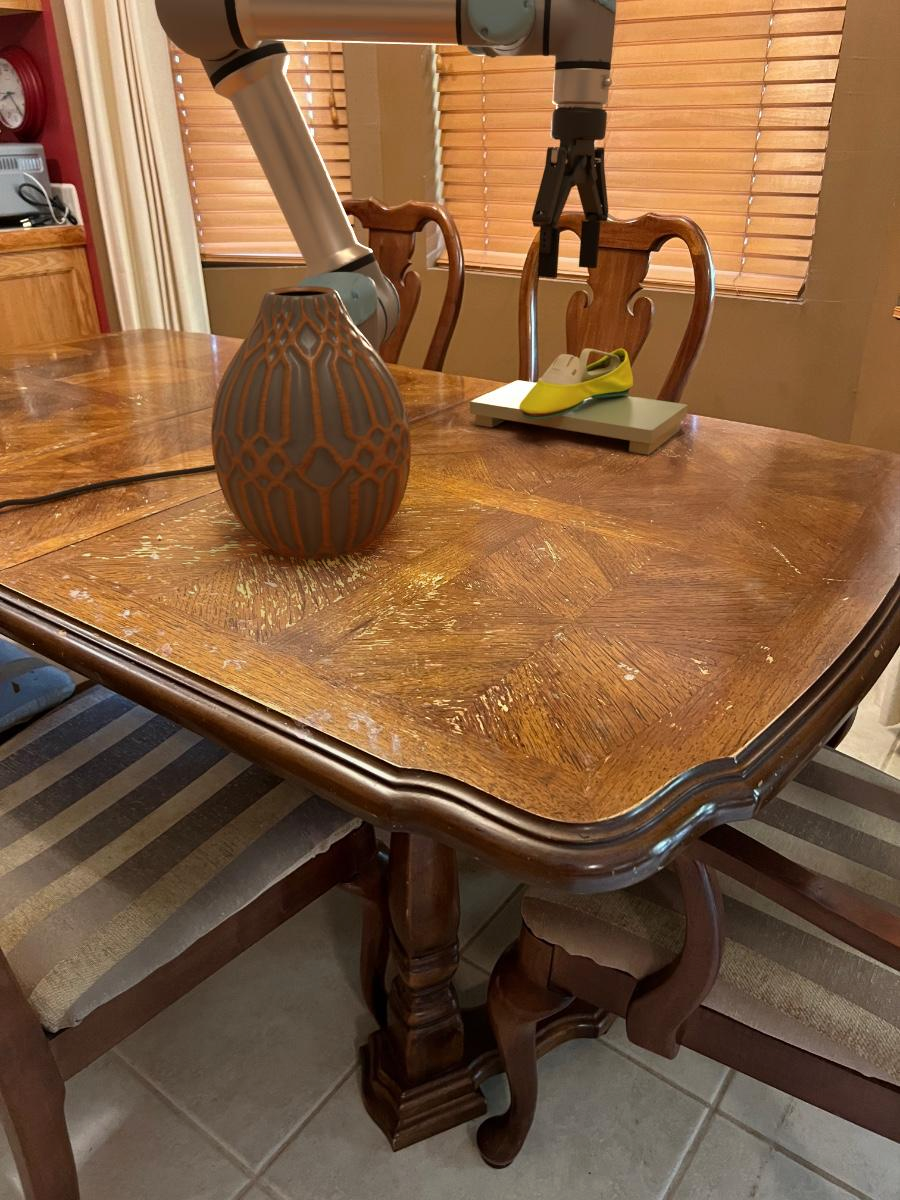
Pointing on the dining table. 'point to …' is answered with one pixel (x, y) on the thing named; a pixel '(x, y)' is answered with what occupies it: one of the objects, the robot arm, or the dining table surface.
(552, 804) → the dining table surface
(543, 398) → the ballet flat
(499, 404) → the low footed display riser
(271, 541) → the vase
